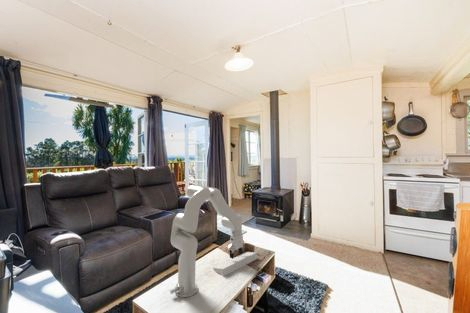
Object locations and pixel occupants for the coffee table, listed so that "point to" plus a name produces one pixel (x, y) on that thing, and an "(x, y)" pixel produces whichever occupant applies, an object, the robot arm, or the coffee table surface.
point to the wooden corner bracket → (244, 249)
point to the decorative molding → (235, 263)
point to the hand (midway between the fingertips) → (236, 255)
